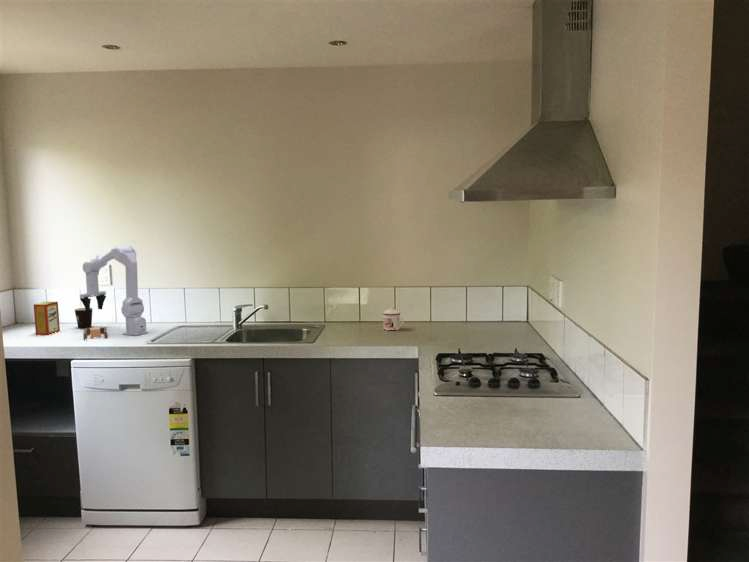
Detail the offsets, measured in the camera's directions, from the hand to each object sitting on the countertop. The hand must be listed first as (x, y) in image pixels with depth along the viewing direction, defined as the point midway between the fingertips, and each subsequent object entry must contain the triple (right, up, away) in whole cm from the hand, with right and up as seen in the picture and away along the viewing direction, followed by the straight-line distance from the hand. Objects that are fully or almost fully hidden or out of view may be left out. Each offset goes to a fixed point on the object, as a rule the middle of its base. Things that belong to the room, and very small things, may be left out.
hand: (94, 310), depth 317 cm
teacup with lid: (+157, -10, -6) cm, 158 cm away
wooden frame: (+9, -12, -17) cm, 23 cm away
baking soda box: (-20, -12, -8) cm, 24 cm away
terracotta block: (+9, -13, -18) cm, 24 cm away
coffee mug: (-7, -10, +5) cm, 13 cm away
